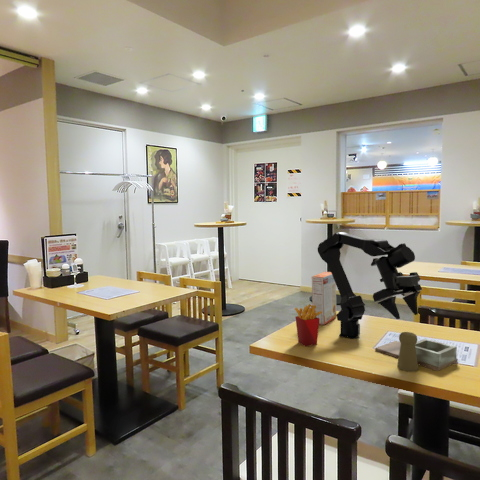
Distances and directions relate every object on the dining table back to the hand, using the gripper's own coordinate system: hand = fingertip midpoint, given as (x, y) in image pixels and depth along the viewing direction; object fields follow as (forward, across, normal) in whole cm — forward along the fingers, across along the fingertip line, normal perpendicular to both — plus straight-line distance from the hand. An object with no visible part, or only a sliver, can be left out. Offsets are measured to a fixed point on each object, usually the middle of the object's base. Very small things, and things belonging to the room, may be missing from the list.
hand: (407, 316), depth 131 cm
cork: (+15, -9, +1) cm, 17 cm away
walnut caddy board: (+12, +2, +5) cm, 13 cm away
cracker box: (-11, +6, +47) cm, 49 cm away
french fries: (-1, -19, +30) cm, 35 cm away
